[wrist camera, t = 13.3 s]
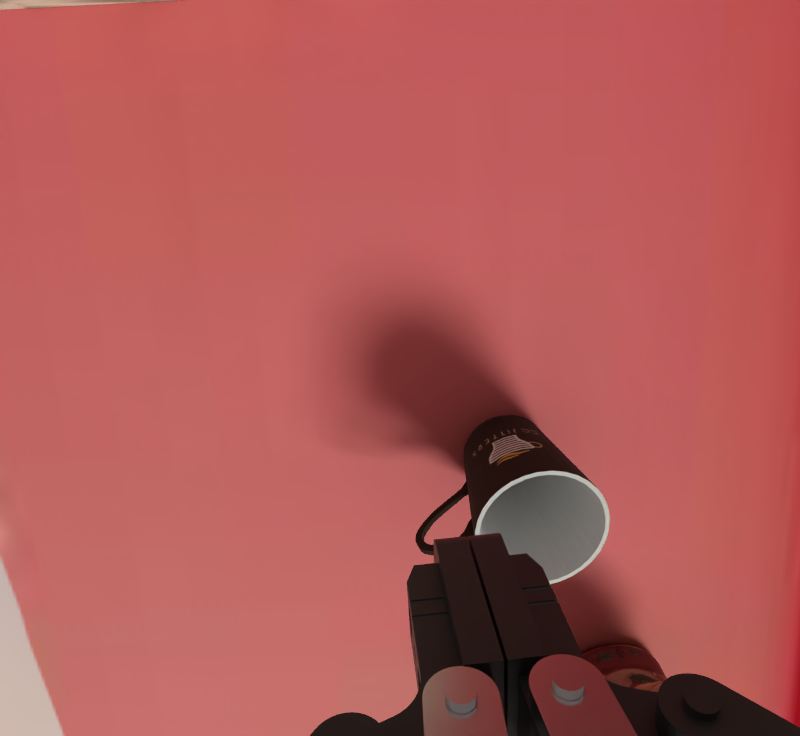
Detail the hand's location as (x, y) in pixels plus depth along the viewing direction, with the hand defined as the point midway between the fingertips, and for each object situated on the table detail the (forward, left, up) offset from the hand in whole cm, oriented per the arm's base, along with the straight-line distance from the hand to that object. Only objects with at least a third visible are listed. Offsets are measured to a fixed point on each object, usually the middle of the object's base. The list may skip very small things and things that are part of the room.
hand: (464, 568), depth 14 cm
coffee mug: (-7, +15, -31) cm, 35 cm away
